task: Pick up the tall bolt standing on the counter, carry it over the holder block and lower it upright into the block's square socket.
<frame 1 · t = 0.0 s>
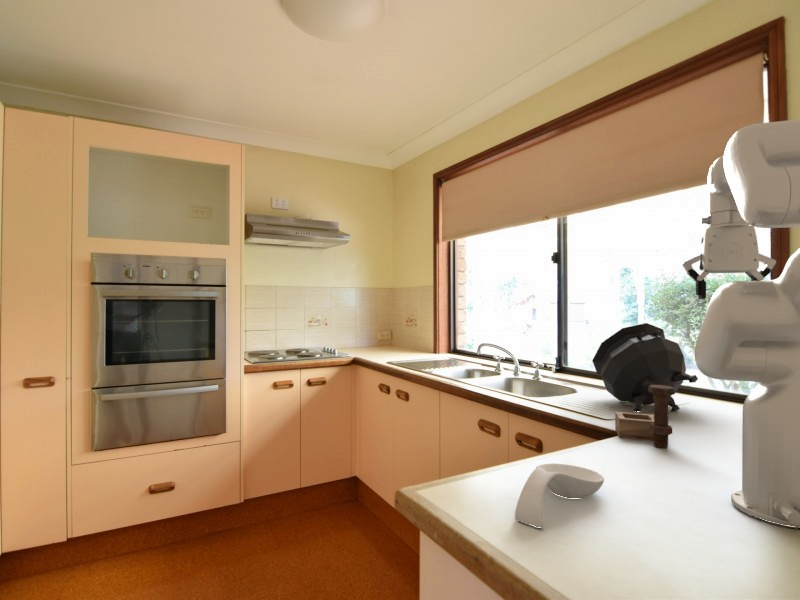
hand: (727, 298, 99), 37 cm above the counter, tool pointing down, fingers open, 9 cm apart
holder: (636, 435, 121), on the counter
black cauldron: (644, 408, 154), on the counter
bolt: (660, 447, 111), on the counter
spoon rest: (557, 504, 80), on the counter
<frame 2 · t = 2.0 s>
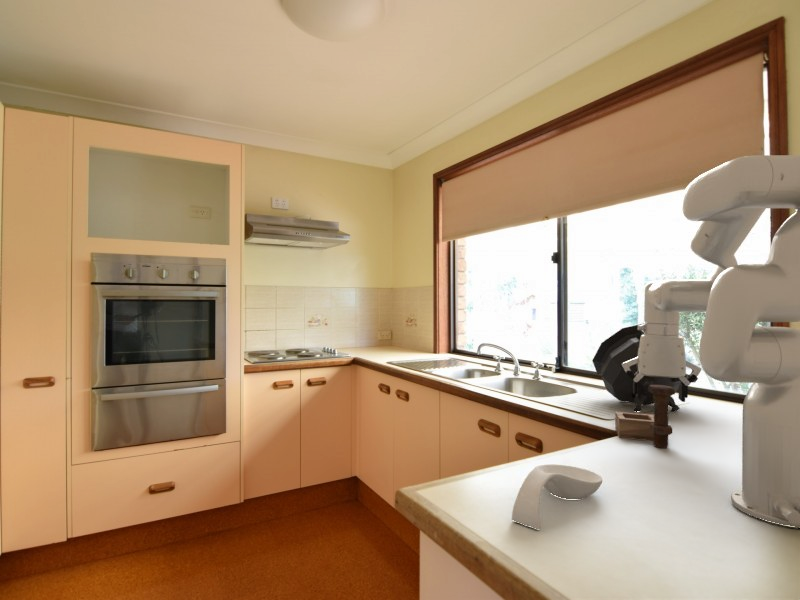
hand: (659, 398, 112), 12 cm above the counter, tool pointing down, fingers open, 9 cm apart
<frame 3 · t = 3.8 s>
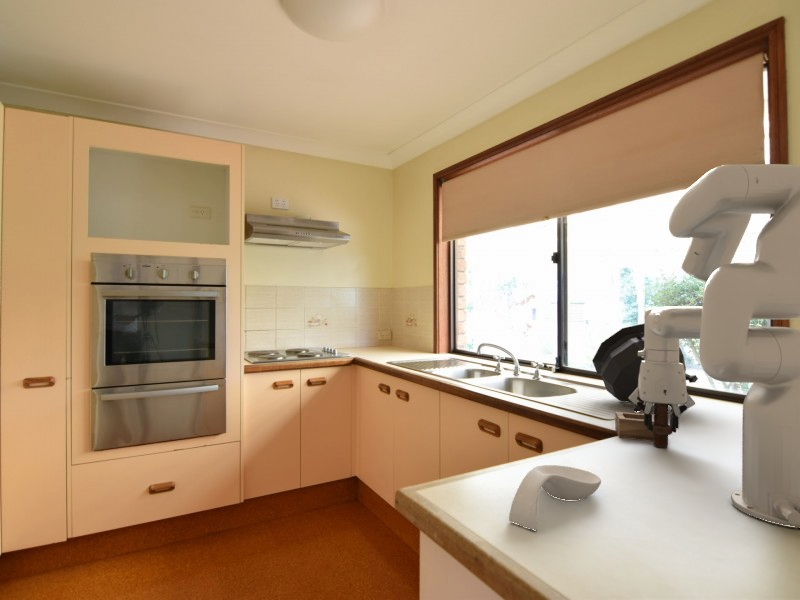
hand: (660, 429, 111), 4 cm above the counter, tool pointing down, fingers closed on bolt, 4 cm apart
bolt: (660, 447, 111), on the counter, touching gripper
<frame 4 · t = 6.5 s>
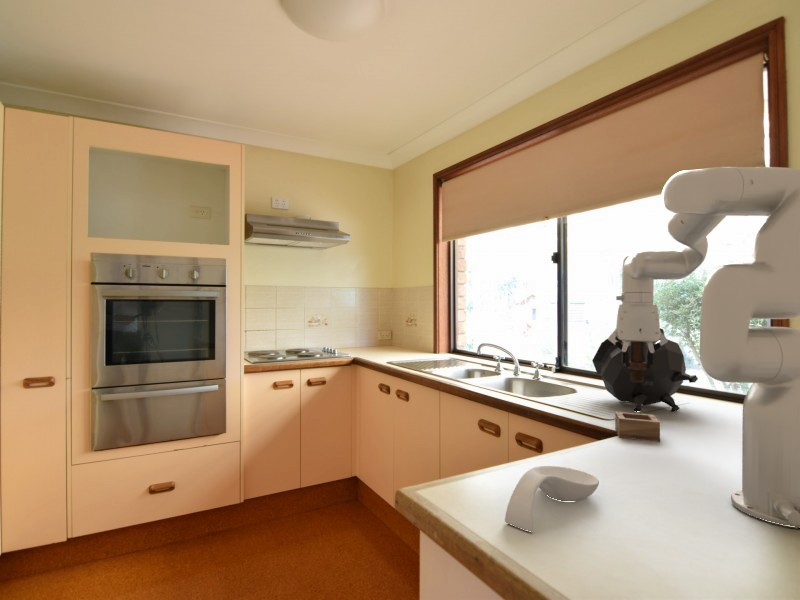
hand: (637, 366, 121), 19 cm above the counter, tool pointing down, fingers closed on bolt, 4 cm apart
bolt: (636, 382, 121), point 14 cm above the counter, touching gripper
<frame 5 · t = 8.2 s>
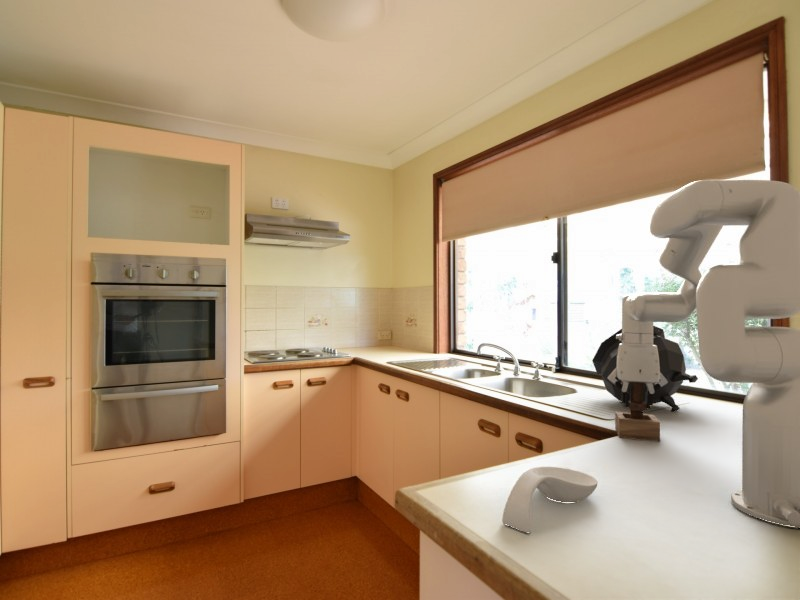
hand: (636, 406, 121), 8 cm above the counter, tool pointing down, fingers closed on bolt, 4 cm apart
bolt: (636, 423, 121), point 3 cm above the counter, touching gripper
when the fingers open (7 cm above the counter, at t = 9.2 s): bolt drops 2 cm, resting on holder.
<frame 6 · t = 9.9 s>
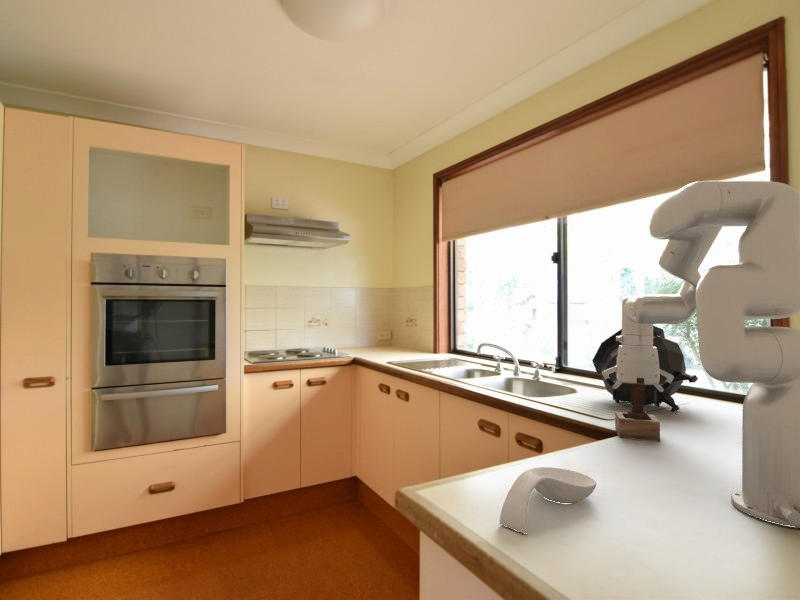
hand: (636, 404, 121), 8 cm above the counter, tool pointing down, fingers open, 9 cm apart
bolt: (637, 432, 121), point 1 cm above the counter, touching holder
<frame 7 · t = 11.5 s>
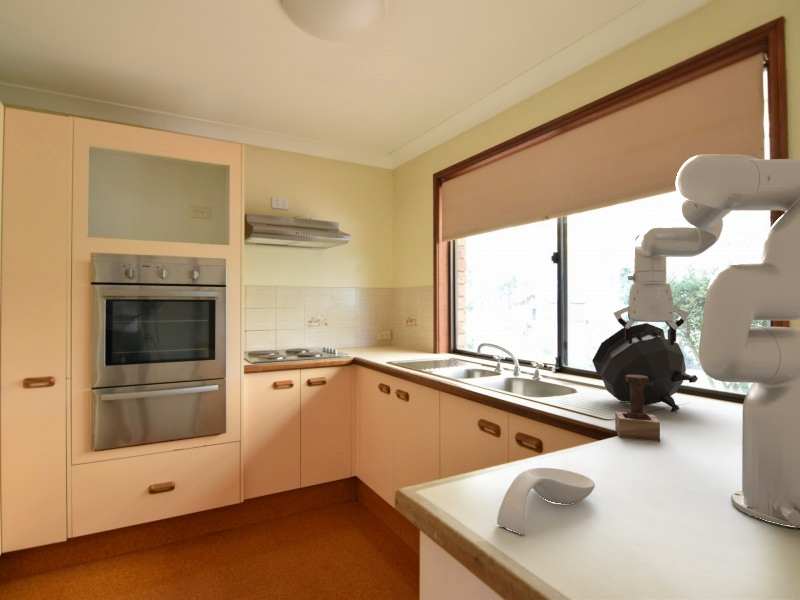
hand: (650, 344, 118), 25 cm above the counter, tool pointing down, fingers open, 9 cm apart
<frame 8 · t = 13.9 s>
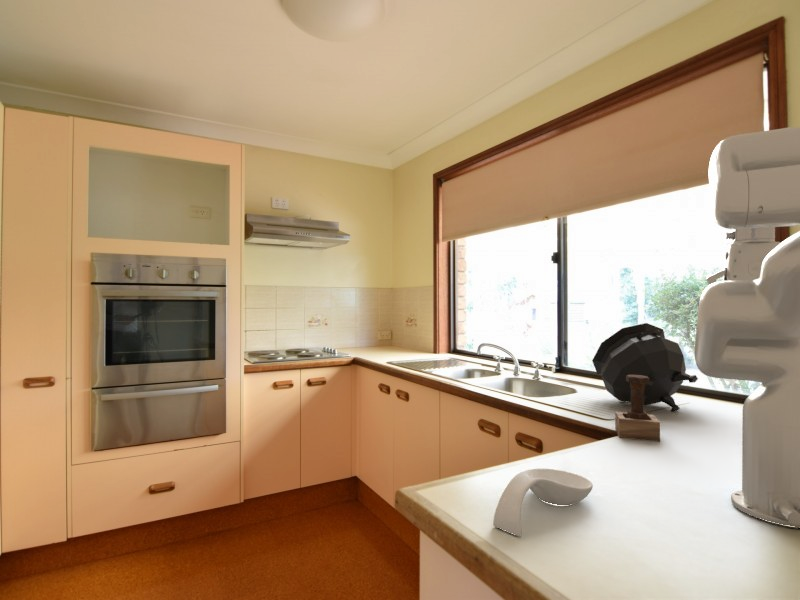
hand: (752, 314, 99), 33 cm above the counter, tool pointing down, fingers open, 9 cm apart
at the end: bolt 0.2 cm off-centre on the holder, point 0.8 cm above the holder's base; bolt tilted 0°; the gripper is holding nothing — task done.
